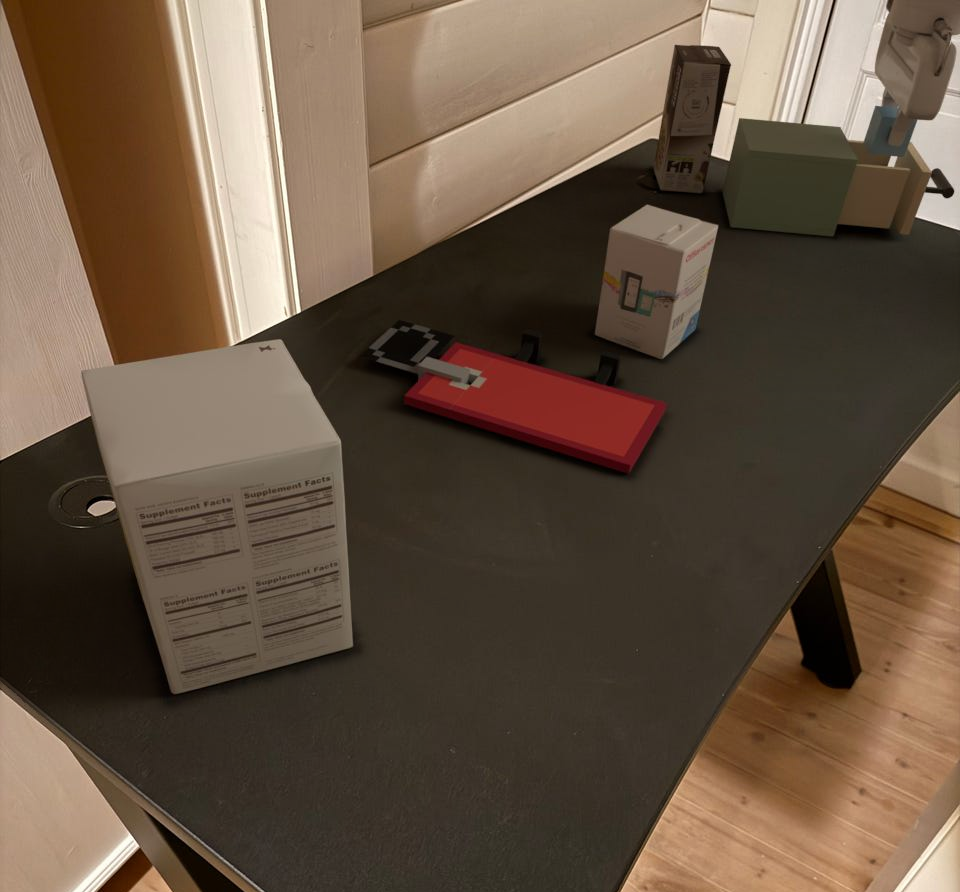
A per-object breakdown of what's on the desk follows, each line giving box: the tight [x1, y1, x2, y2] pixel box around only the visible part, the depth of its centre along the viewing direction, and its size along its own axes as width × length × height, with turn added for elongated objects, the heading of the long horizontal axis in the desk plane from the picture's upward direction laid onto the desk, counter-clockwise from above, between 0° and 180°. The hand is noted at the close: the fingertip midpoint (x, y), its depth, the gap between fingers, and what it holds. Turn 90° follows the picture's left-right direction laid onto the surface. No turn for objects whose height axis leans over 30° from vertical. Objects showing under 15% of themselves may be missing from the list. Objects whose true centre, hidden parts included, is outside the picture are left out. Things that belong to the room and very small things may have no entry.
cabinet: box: [721, 117, 858, 237], centre depth 125 cm, size 14×13×10 cm
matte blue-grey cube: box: [863, 105, 918, 158], centre depth 120 cm, size 4×4×4 cm
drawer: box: [837, 139, 955, 236], centre depth 125 cm, size 17×11×8 cm
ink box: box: [594, 204, 719, 360], centre depth 98 cm, size 9×8×12 cm
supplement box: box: [80, 338, 354, 695], centre depth 63 cm, size 13×13×18 cm
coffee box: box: [653, 44, 732, 194], centre depth 129 cm, size 9×6×16 cm
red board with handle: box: [359, 319, 668, 475], centre depth 91 cm, size 30×3×15 cm
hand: (888, 136), depth 120 cm, fingers closed on matte blue-grey cube, 4 cm apart
